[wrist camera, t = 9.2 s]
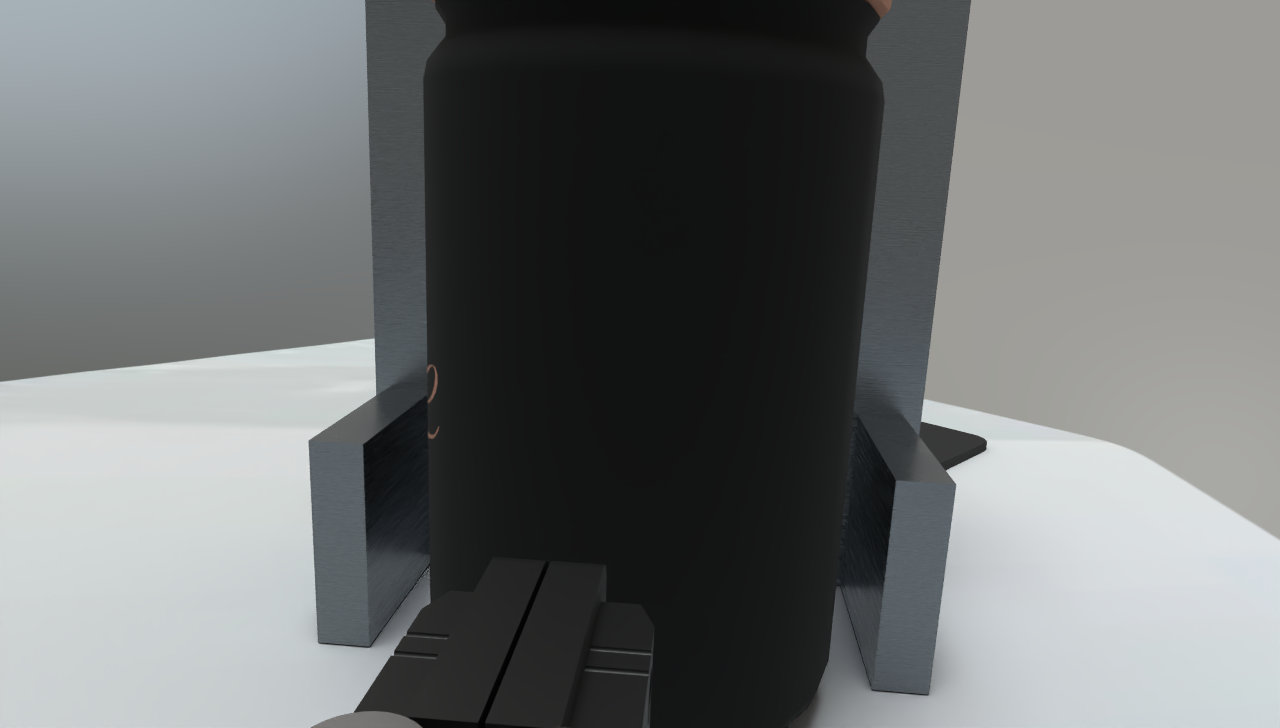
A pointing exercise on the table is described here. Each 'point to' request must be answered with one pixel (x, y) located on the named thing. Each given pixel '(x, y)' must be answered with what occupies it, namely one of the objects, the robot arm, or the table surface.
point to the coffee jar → (654, 317)
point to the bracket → (886, 378)
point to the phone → (951, 444)
